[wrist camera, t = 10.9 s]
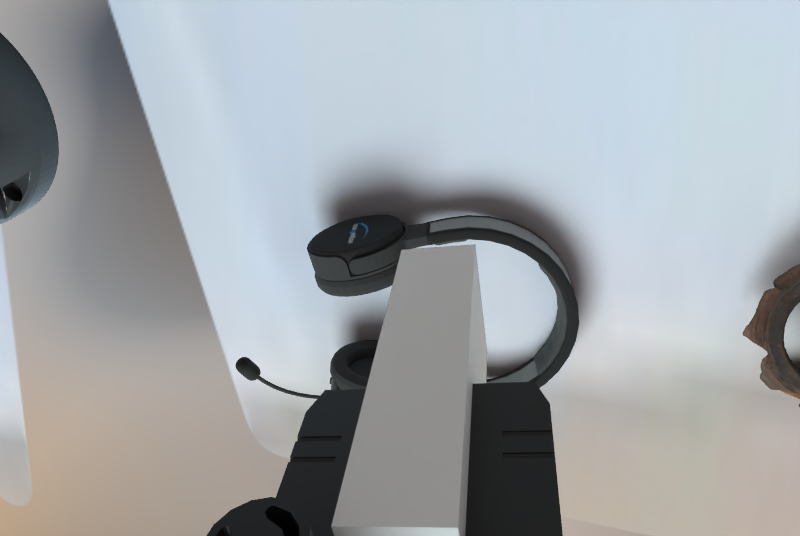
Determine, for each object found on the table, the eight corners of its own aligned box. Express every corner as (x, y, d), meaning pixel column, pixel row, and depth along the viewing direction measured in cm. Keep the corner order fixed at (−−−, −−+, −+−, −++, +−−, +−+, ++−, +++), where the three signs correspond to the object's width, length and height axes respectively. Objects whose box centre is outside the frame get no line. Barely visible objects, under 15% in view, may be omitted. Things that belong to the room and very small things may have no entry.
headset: (213, 286, 34) (606, 271, 32) (260, 213, 42) (573, 198, 40) (260, 475, 40) (590, 472, 38) (293, 378, 48) (564, 372, 47)
